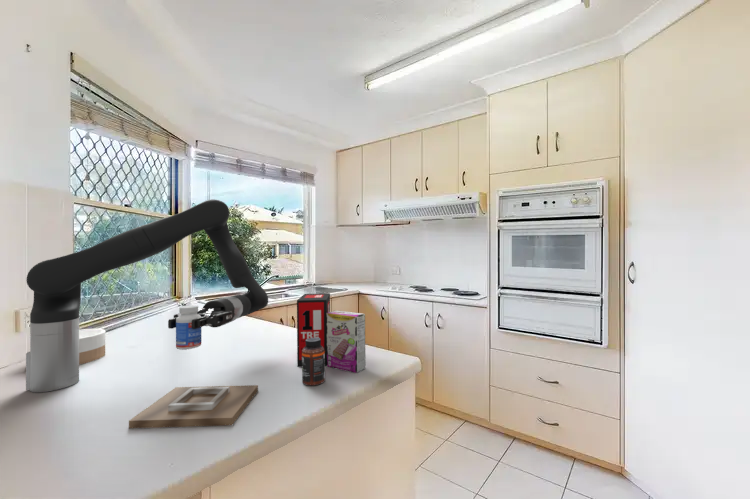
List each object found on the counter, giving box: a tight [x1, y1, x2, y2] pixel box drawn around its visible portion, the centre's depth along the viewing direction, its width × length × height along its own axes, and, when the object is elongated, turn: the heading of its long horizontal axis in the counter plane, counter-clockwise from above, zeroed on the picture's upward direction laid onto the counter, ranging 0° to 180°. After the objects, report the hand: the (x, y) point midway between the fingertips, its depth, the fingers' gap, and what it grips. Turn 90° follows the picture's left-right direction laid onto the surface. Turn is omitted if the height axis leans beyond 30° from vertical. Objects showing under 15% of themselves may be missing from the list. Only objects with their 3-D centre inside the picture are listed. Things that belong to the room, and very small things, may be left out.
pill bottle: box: [175, 305, 202, 351], centre depth 79 cm, size 6×5×10 cm
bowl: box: [79, 328, 106, 366], centre depth 107 cm, size 17×17×8 cm
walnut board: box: [128, 384, 259, 429], centre depth 72 cm, size 20×16×3 cm
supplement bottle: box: [301, 338, 326, 386], centre depth 86 cm, size 6×6×11 cm
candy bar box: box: [326, 309, 366, 374], centre depth 96 cm, size 11×5×16 cm, turn 59°
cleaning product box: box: [296, 292, 331, 368], centre depth 107 cm, size 16×9×20 cm, turn 4°
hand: (181, 324), depth 76 cm, fingers closed on pill bottle, 5 cm apart
